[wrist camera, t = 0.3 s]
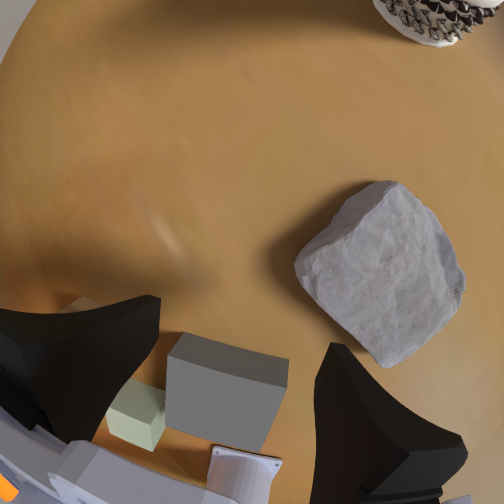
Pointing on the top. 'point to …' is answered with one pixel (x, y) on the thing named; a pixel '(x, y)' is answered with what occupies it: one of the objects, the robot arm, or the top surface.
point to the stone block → (384, 271)
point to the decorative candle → (435, 18)
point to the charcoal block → (223, 391)
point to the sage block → (138, 414)
